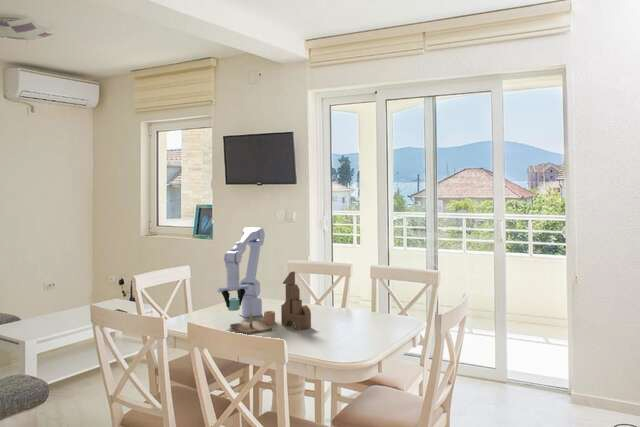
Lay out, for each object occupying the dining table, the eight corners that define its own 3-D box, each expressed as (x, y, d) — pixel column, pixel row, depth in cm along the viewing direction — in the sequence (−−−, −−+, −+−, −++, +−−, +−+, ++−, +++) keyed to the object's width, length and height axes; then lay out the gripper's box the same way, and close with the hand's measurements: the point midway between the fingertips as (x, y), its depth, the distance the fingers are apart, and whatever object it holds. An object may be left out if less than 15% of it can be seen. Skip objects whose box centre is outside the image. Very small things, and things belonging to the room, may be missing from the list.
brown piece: (259, 322, 232) (259, 308, 231) (272, 330, 217) (272, 315, 217) (230, 326, 225) (230, 312, 225) (242, 334, 211) (241, 319, 211)
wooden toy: (312, 327, 221) (311, 272, 221) (300, 330, 217) (299, 273, 216) (290, 321, 233) (289, 268, 232) (279, 324, 228) (278, 270, 228)
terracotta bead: (270, 320, 234) (269, 310, 234) (277, 322, 231) (277, 312, 231) (262, 323, 231) (261, 312, 230) (269, 324, 227) (269, 313, 227)
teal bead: (237, 307, 233) (237, 297, 233) (240, 309, 229) (240, 299, 228) (226, 309, 231) (226, 298, 231) (230, 311, 226) (230, 300, 226)
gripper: (220, 279, 222) (221, 309, 223) (250, 276, 229) (251, 306, 230) (215, 277, 228) (216, 306, 229) (245, 274, 235) (246, 303, 236)
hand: (233, 306), depth 230 cm, fingers closed on teal bead, 5 cm apart
